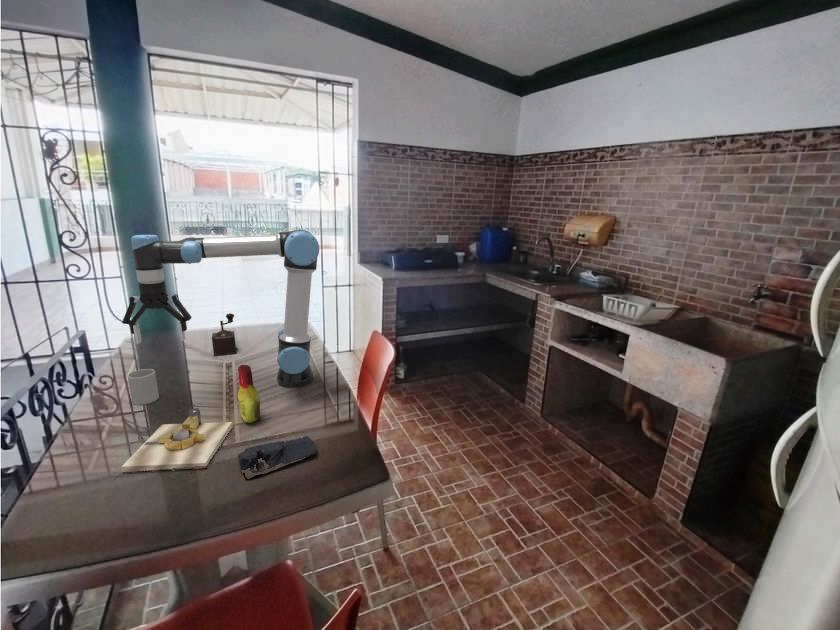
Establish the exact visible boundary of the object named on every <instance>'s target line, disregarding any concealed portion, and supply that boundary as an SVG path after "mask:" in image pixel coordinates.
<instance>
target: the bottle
mask: <svg viewBox="0 0 840 630" xmlns="http://www.w3.org/2000/svg"><path fill="white" fill-rule="evenodd" d="M237 373H238V382H239V383H238V384H239V389H238V392H237V397H238V398H237V399H238V404H239V410H240V416H241V418H242V419H243V422H244V423H248V424H251V423H254V422H256V421H259V420H260V418H261V404H260V403H261V402H260V395H259V392H258V390H257V389H256V387H255V385H254V379H253V373H252V368H251V366H250V365H248V364H241V365H239V366H238V367H237Z"/></svg>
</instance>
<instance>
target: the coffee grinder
mask: <svg viewBox="0 0 840 630" xmlns="http://www.w3.org/2000/svg"><path fill="white" fill-rule="evenodd" d="M225 318H226V319H227V322H224V321H223V320H220V321H219V323H220V325H219V326H220V327H221V328H220V329H221V330H219V331H218V332H212V335H211V342H212V351H213V357H223V356H231V355H236V354H238V353H237V351H238V347H237V345H236V337H235V331H234V330H227V329H224V326H225V325H228V324H232V322H234V320H233V319H234V318H235V314H233V313H230V312H229V313H227V314H226V315H225Z"/></svg>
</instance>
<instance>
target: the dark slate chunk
mask: <svg viewBox="0 0 840 630" xmlns="http://www.w3.org/2000/svg"><path fill="white" fill-rule="evenodd" d="M302 437H303V438H301V437H298V438H295V439H289V441H288V440H284V441H286V442H284V441H283V440H281V441H276V442H269V443H262V444H260V445H254V446H250V447H246V448H245V449H244V450H245V451H244V450H243V451H241V452H240V453H238V454H237V458H238V464H240V465H239V469H241V470H246V469H248V468H250V470H249V471H251V472H252V473H257V472H262V471H264V470H266V469H265V468H264V470H258V471H255V470H254V467H255V466H254V465H255V464H256V463H257V462H258V459H260V458H262V460H265V462H266V464H268V465H269V467H268V468H267V469H270V468H272V467H275V466H276V465H278V464H280V463H283V464H284V463H285V464H287V463H290V462H292V461H295V460H298V459H302V458H304V457H307V456H310V457H312V456H311V455H313V454H315V453H316V452H317V453H318V448H317V445H316V444H315V442H313V441H314V440H313V439H312V438H311V437H310V438H311V439H310V438H309V436H307V435H305V436H302ZM317 453H316V454H317ZM316 454H315V455H316ZM313 456H314V455H313ZM257 464H258V463H257ZM241 470H240V471H241Z"/></svg>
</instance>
